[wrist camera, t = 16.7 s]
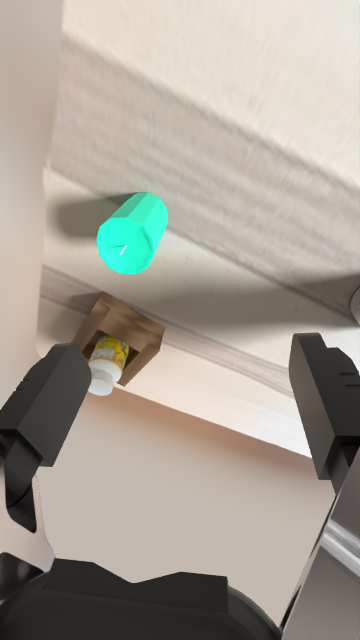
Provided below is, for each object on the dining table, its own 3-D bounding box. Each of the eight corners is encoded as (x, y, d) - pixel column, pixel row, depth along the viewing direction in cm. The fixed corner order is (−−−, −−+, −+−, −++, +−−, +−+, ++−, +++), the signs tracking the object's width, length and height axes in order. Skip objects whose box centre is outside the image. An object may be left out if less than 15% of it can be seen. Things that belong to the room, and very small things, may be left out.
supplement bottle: (98, 328, 44) (76, 373, 36) (130, 332, 44) (115, 377, 36) (101, 350, 47) (82, 396, 40) (130, 354, 47) (117, 400, 40)
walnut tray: (164, 327, 46) (159, 351, 42) (132, 362, 53) (124, 386, 48) (104, 290, 43) (90, 311, 38) (77, 332, 50) (62, 355, 45)
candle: (150, 247, 37) (128, 291, 28) (114, 217, 35) (78, 254, 26) (177, 214, 34) (164, 252, 25) (140, 180, 32) (110, 207, 23)
